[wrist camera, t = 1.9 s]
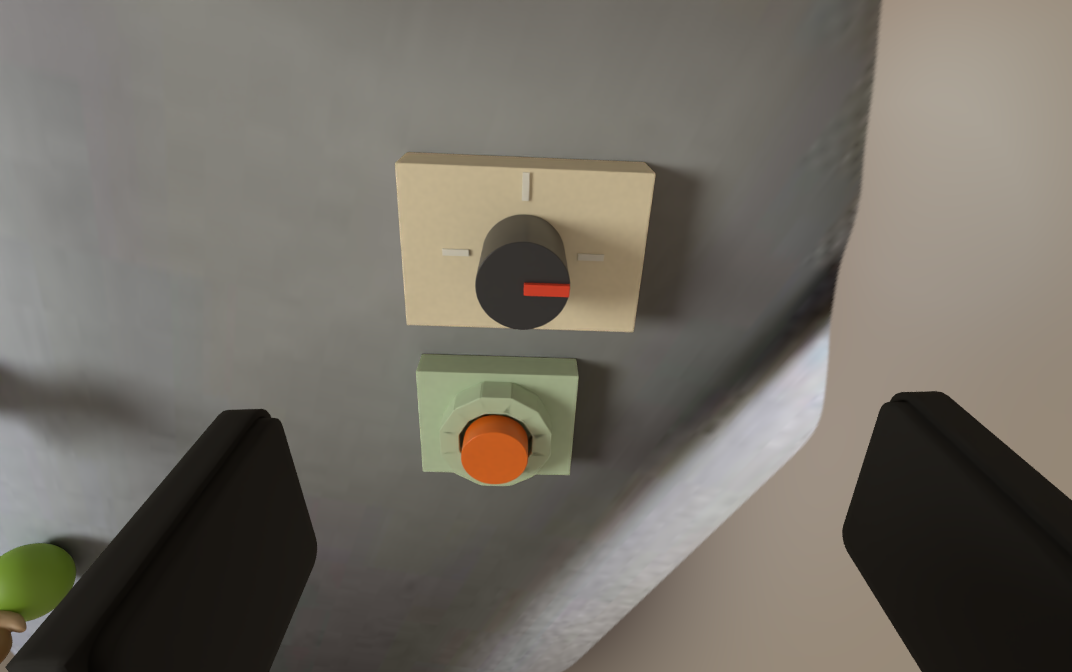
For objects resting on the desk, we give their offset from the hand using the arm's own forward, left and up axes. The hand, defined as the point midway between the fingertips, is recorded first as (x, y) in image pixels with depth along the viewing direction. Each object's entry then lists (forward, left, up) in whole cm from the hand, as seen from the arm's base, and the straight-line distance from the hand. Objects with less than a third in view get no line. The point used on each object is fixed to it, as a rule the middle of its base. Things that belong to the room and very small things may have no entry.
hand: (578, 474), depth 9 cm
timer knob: (-2, -4, -21) cm, 22 cm away
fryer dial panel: (-2, -4, -24) cm, 25 cm away
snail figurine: (-44, -20, -25) cm, 55 cm away
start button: (-6, -15, -21) cm, 26 cm away
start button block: (-6, -15, -24) cm, 29 cm away
